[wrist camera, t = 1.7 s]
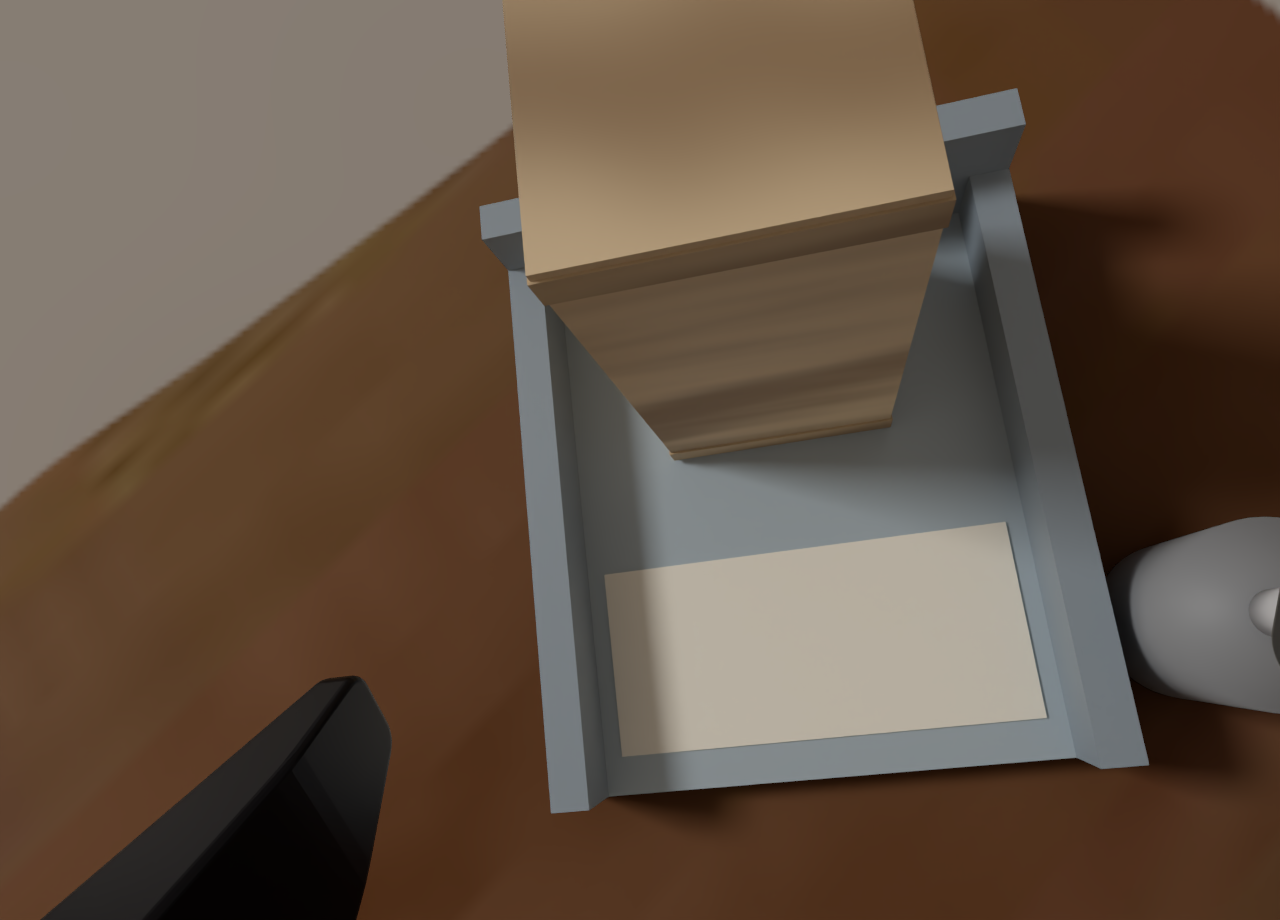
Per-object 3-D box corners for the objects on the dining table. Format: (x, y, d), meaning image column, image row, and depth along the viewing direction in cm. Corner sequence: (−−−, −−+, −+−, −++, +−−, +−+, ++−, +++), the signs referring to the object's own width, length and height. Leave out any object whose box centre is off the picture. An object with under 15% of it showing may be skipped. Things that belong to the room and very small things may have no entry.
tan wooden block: (890, 428, 24) (958, 192, 11) (675, 462, 25) (523, 279, 12) (859, 261, 25) (890, -120, 12) (656, 300, 26) (498, -14, 14)
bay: (1298, 732, 21) (1480, 766, 15) (585, 792, 25) (508, 839, 19) (1140, 163, 25) (1238, 13, 19) (540, 283, 28) (465, 187, 22)
